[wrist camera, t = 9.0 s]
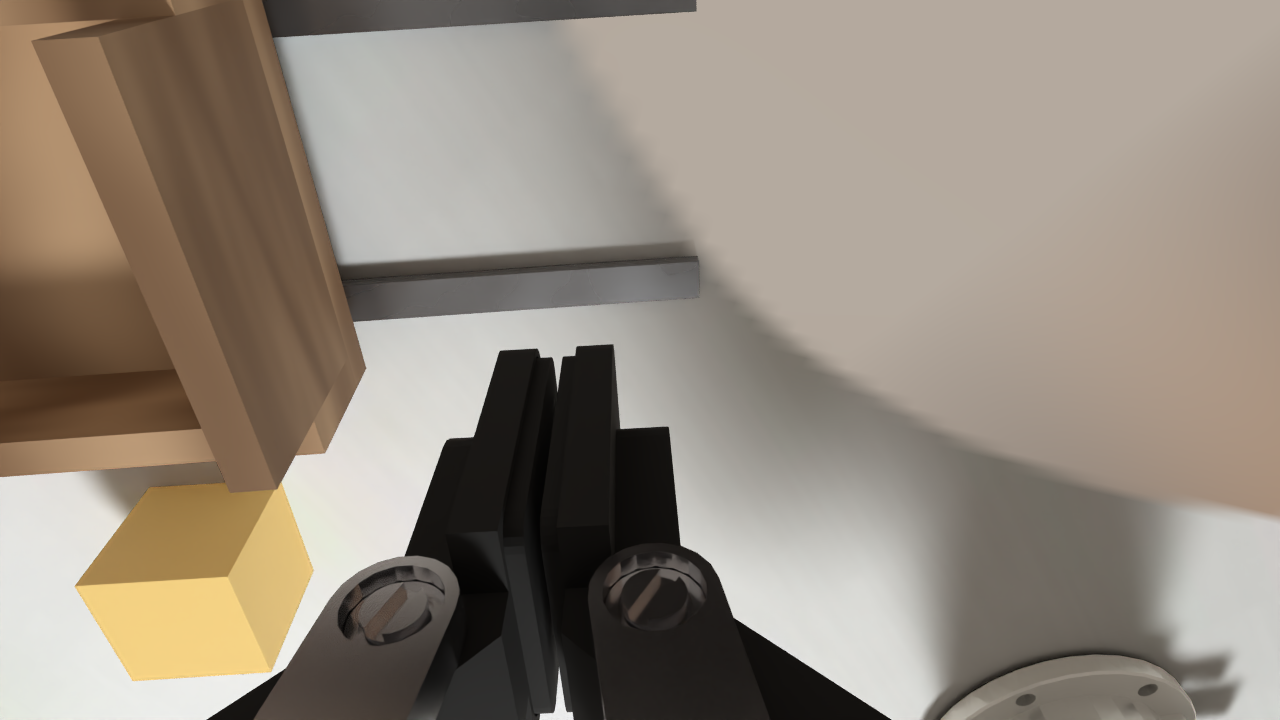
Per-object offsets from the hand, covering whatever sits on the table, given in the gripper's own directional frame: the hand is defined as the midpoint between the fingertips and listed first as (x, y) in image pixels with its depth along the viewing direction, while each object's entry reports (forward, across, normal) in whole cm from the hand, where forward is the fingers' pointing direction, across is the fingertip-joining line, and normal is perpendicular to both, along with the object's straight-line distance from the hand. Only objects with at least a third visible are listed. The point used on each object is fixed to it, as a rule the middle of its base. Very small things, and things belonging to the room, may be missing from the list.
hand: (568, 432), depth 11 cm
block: (+12, +14, +12) cm, 22 cm away
